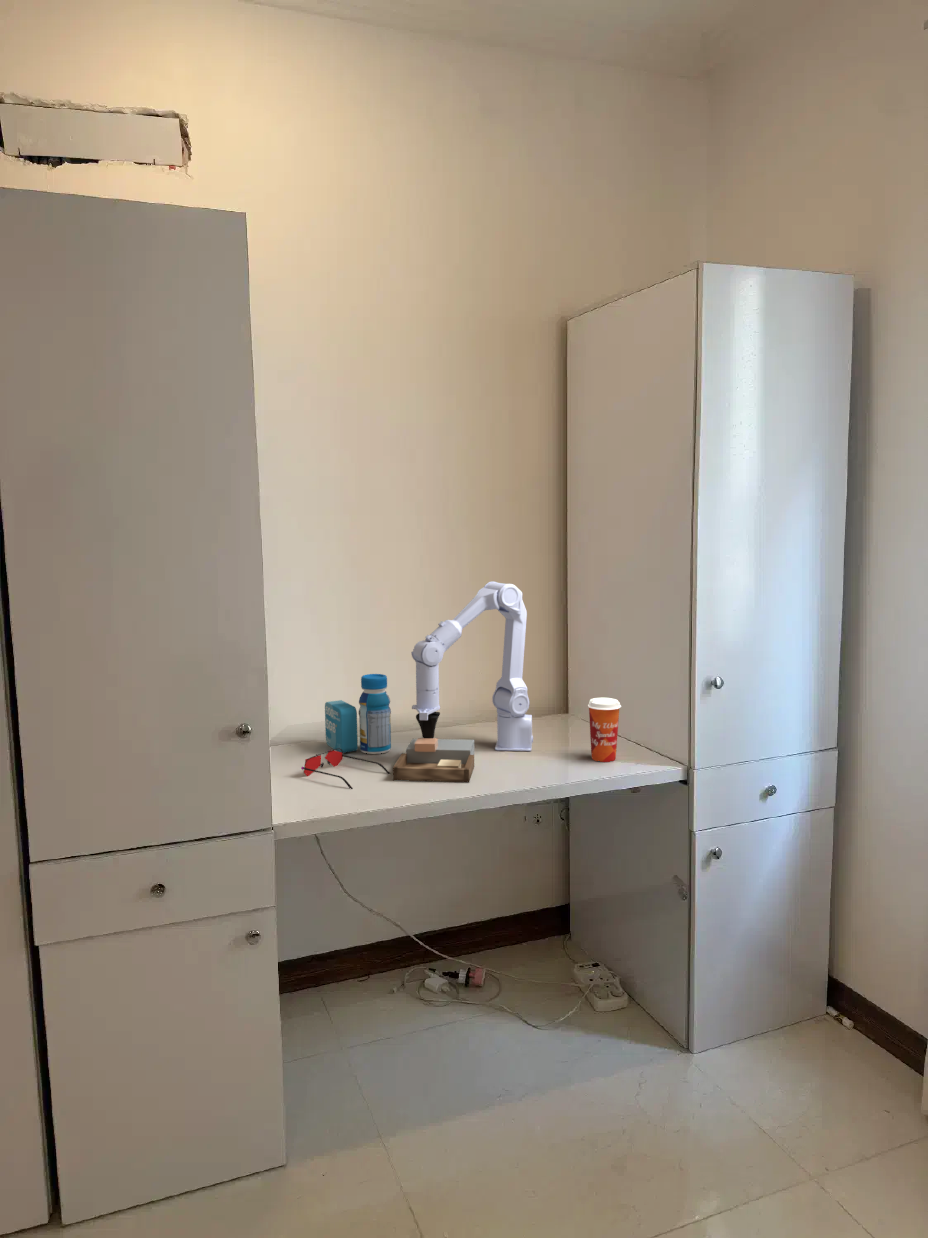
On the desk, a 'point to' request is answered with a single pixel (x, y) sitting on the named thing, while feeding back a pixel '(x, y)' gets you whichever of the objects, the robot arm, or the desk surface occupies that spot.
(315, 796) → the desk surface
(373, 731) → the beverage bottle
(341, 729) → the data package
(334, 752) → the glasses
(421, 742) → the terracotta tile
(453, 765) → the ash tile
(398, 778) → the walnut box
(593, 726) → the coffee cup
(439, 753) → the slate slab
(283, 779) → the desk surface
